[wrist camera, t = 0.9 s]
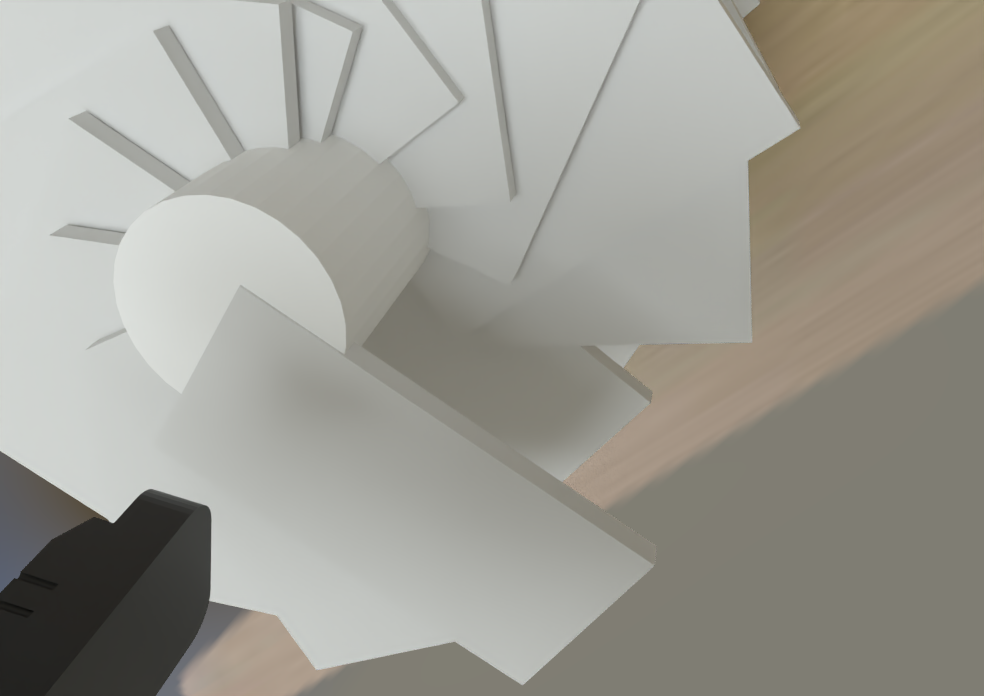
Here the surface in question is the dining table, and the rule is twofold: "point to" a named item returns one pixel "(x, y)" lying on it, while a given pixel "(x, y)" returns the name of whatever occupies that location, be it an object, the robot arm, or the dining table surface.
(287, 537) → the spiral staircase
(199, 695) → the dining table surface
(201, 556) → the robot arm
